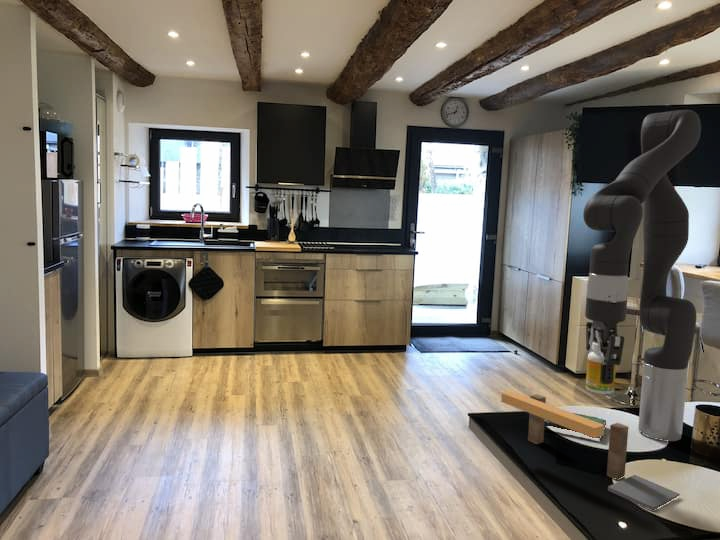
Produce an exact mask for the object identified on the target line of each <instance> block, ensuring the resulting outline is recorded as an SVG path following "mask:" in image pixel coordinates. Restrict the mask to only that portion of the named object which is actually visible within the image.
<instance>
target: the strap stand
mask: <svg viewBox="0 0 720 540" xmlns="http://www.w3.org/2000/svg"><path fill="white" fill-rule="evenodd" d="M530 398H532V399H535V400H538V401H541V402H543V403H546V401H547V397H546V396H544V395H540V394H539V393H538V394H537V393H536V394H533V395H530ZM546 404H547V403H546ZM528 416H529V417H528V435H527V440H528V442H531V443H532V444H534V445H539V444H541V443H544V440H545V439H544V438H545V437H544V436H545V430H544V422H545V419H544V418H541V417H539V416H536V415H533V414H531V413H529V415H528ZM609 425H610V427H609V440H608V453H607V465H606V476H607V477H609V478H611V479H613V478H616V479H619V478H621V477H623V476H624V475H626V462H627V452H628V438H629V426H627V425H626V424H625V425H624V424H623V423H620V422H616V423H613V424H609Z"/></svg>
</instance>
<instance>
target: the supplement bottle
mask: <svg viewBox="0 0 720 540" xmlns="http://www.w3.org/2000/svg"><path fill="white" fill-rule="evenodd" d="M603 348H604V349H607V347H603ZM592 350H593V352H590V353H589V352H588V355H587V362H586V363H587V364H586V377H585V389H586V390H587V391H589V392H591V393H595V394H601V395H609V394H613V393H614V392H615V384H616V374H617V373H616V371H617V365H614V374H613V383H612V384H603V383H602V382H601V381H600V378H601V364H602V360H601V354H600V353H599V352H598V343H596V342H593V343H592ZM606 354H607V353H606Z"/></svg>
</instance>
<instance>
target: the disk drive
mask: <svg viewBox="0 0 720 540" xmlns="http://www.w3.org/2000/svg"><path fill="white" fill-rule="evenodd" d="M572 413H573V414H576V415H579V416H581V417H584V418H587V419H589V420H592V421H595V422H598V423H600V424H603V425H606V426H607V420H606V419H603V418H600V417H598V416H597V417H595V416H590V415H586V414H582V413H581V414H580V413H576V412H572ZM546 426H553V427H557V428H561V429H567V430H571V429H569V428H566V427H564V426H561V425H559V424H556V423H554V422H551V421H549V420H546V419H545V422H544V431H545V430H546ZM604 428H605V426H604ZM605 429H606V428H605ZM572 431H574V430H572ZM575 432H576V431H575ZM597 438H600V437H597Z"/></svg>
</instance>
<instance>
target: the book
mask: <svg viewBox="0 0 720 540" xmlns="http://www.w3.org/2000/svg"><path fill="white" fill-rule="evenodd" d="M607 491H608V492H609V493H612V494H614V495H617V496H619V497H620V498H623V499H626V500H627V501H629V502H631V503H634V504H636V505H638V504H640V505H642V506H644V507H647V508H649V509H651V510H653V511H654V510H655V509H657V508H658V507H660V506H662V505H664V504H666V503H667V502H669V501H671V500H672V499H674V498H676V497H677V496H679V495H680V496H681V494H680V493H679V492H676V491H673V490H671V489H669V488H667V487H664V486H662V485H659V484H658V483H655V482H653V481H650V480H648V479H645V478H643V477H642V476H638V475H636V474H634V475H633V474H632V475H631V476H628V477H627V478H623V479H621V480H618V481H617V482H615V483H613V484H611V485H609V486H608V487H607ZM640 505H639V506H640ZM642 506H641V507H642ZM644 507H643V508H644ZM649 509H648V510H649ZM651 510H650V511H651ZM653 511H652V512H653ZM654 512H655V511H654Z"/></svg>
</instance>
